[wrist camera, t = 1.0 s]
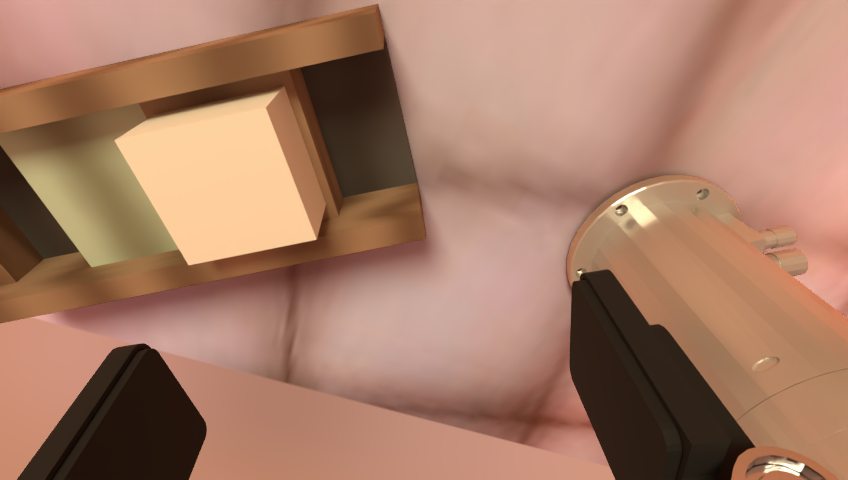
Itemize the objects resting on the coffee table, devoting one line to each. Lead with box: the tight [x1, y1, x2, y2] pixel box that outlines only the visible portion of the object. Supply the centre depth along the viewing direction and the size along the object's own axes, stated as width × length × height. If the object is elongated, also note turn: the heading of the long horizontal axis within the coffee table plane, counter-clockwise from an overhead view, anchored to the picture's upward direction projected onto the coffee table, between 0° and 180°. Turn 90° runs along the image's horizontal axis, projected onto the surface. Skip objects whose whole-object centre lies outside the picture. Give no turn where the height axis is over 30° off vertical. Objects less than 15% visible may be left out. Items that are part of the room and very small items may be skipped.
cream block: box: [114, 86, 326, 265], centre depth 23 cm, size 7×7×4 cm
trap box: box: [0, 4, 426, 323], centre depth 25 cm, size 28×12×5 cm, turn 101°
